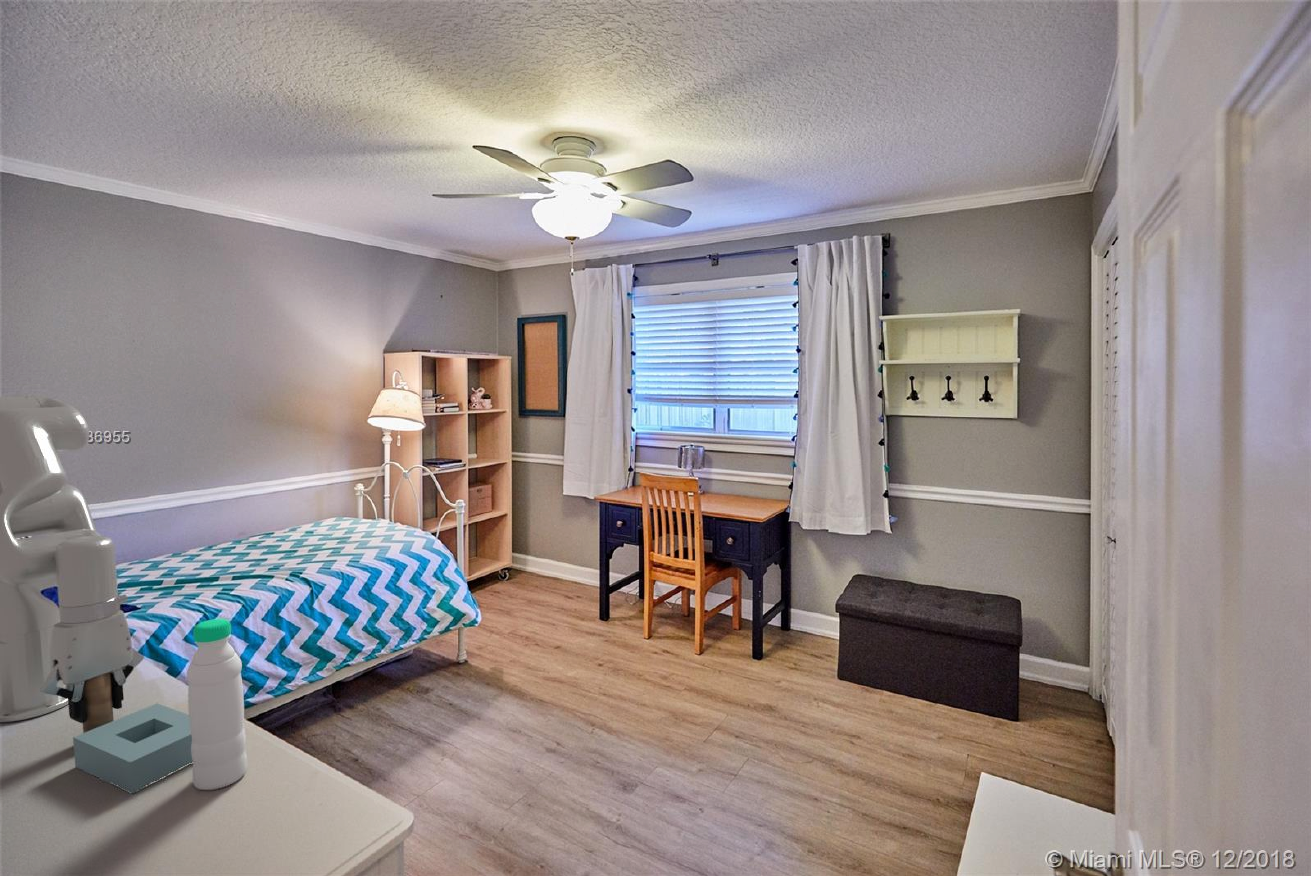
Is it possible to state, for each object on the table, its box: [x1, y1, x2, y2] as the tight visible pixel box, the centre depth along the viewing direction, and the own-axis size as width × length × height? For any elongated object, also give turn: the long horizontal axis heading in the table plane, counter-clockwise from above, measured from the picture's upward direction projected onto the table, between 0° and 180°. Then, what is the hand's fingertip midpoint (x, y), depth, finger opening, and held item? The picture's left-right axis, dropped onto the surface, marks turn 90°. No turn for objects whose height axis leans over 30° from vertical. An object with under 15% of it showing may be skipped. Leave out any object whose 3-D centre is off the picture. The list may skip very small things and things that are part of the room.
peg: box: [82, 673, 115, 734], centre depth 110 cm, size 4×4×14 cm
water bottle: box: [186, 618, 248, 791], centre depth 99 cm, size 7×7×25 cm
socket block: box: [72, 703, 193, 794], centre depth 105 cm, size 16×12×5 cm
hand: (97, 712), depth 111 cm, fingers open, 4 cm apart
